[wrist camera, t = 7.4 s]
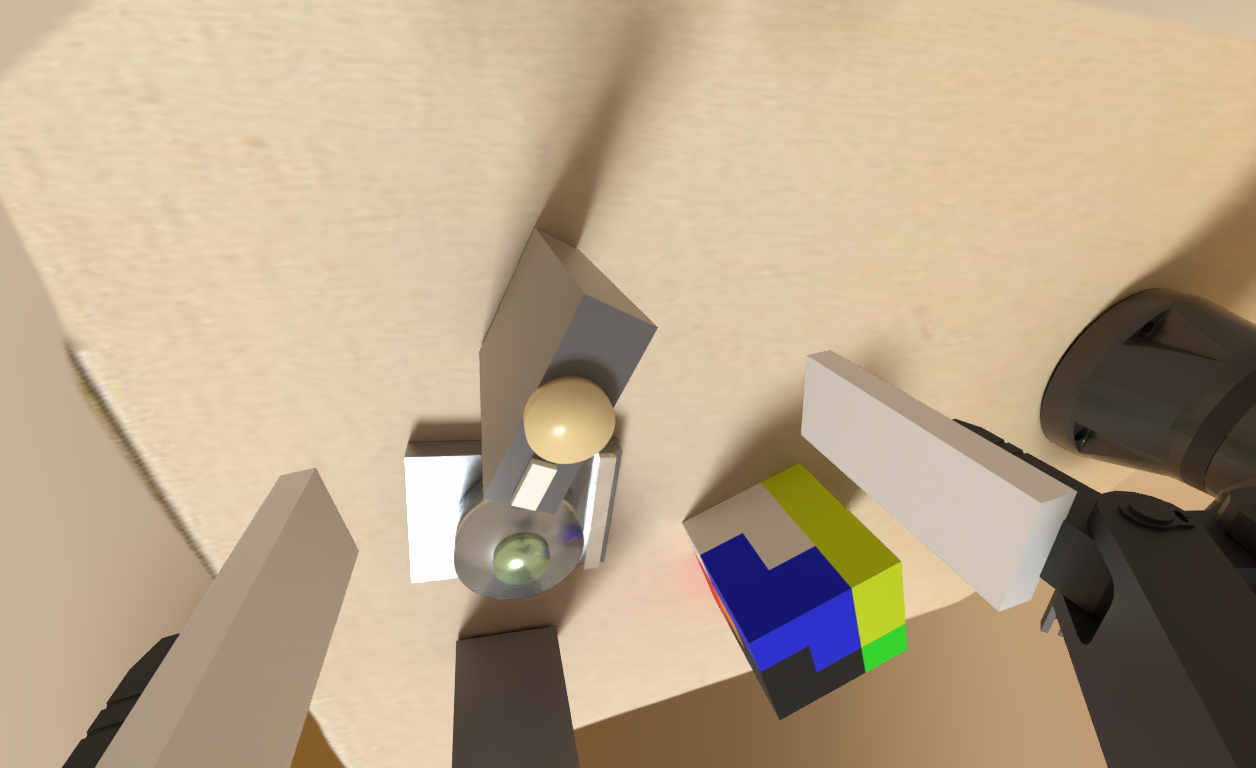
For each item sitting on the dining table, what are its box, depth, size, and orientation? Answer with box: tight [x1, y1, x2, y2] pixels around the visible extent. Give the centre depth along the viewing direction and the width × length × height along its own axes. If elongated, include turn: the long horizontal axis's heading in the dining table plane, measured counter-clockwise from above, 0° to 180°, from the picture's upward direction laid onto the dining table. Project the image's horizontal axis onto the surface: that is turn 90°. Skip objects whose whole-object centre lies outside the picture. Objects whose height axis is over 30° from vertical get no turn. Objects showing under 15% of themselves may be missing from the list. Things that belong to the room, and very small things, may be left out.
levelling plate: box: [405, 437, 622, 599], centre depth 28 cm, size 12×9×5 cm
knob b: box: [452, 626, 580, 768], centre depth 29 cm, size 7×3×13 cm, turn 82°
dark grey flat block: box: [479, 227, 658, 515], centre depth 19 cm, size 7×3×13 cm, turn 151°
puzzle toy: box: [682, 463, 907, 720], centre depth 34 cm, size 10×10×10 cm
